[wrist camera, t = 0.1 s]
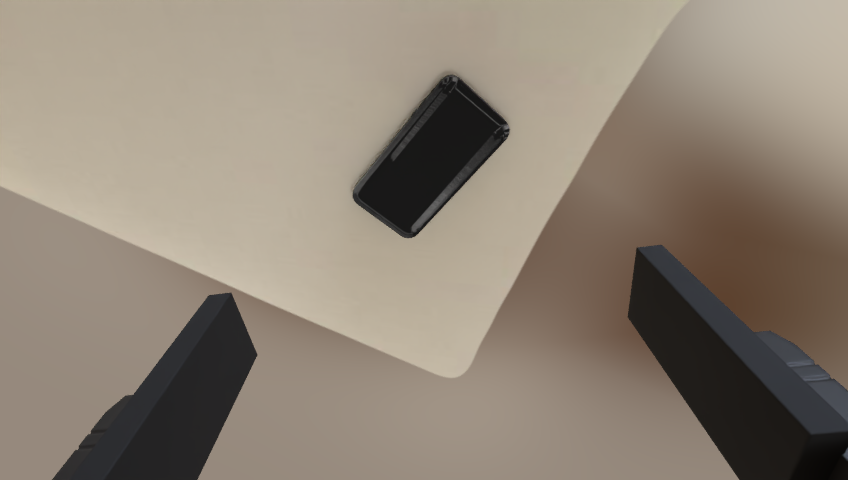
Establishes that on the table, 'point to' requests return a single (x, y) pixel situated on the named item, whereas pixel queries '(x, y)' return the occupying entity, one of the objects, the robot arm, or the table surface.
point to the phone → (431, 157)
